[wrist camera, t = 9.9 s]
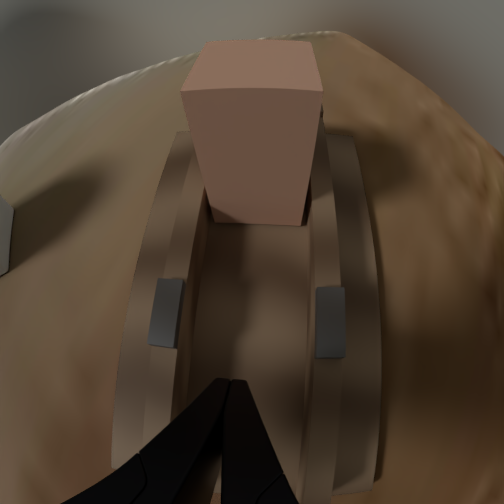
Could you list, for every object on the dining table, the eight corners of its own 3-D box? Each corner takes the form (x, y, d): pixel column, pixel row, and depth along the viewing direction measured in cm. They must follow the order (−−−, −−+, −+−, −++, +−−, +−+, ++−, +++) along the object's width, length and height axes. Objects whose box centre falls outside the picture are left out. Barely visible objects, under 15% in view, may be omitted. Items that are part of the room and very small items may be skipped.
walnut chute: (367, 486, 11) (394, 508, 7) (117, 464, 12) (81, 478, 8) (350, 143, 21) (360, 105, 18) (179, 138, 22) (168, 102, 19)
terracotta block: (300, 225, 17) (323, 91, 9) (214, 222, 17) (180, 91, 9) (298, 163, 19) (310, 41, 11) (225, 161, 19) (206, 41, 11)
